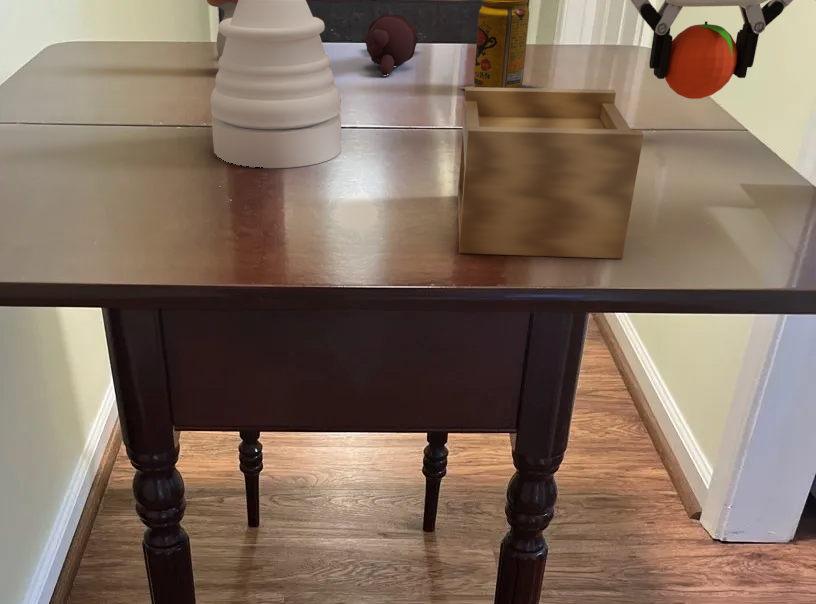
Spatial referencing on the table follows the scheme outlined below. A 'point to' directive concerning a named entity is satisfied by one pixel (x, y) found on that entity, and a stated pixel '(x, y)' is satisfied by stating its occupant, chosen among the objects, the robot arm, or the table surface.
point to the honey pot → (275, 88)
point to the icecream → (391, 41)
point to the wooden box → (545, 173)
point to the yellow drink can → (501, 44)
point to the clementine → (701, 61)
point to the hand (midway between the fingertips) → (698, 74)
